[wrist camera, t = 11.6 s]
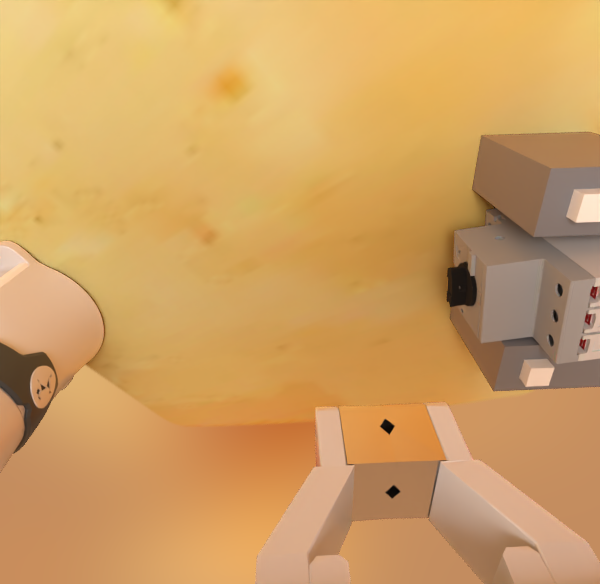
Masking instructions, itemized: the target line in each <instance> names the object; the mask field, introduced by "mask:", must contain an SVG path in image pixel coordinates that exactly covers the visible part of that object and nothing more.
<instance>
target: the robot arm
mask: <svg viewBox="0 0 600 584" xmlns="http://www.w3.org/2000/svg"><path fill="white" fill-rule="evenodd" d="M103 337H104V326H103V321H102V317H101V314H100V312H99V310H98V308H97V306H96V304H95V303H94V301H93V300H92V299H91V297H90V296H89V295H88V294H87V293H86V292H85V291H84V290H83V289H82V288H81V287H80V286H79V285H78V284H77V283H75V282H74V281H73V280H71V279H70V278H68V277H67V276H65V275H63V274H62V273H60V272H58V271H56V270H54V269H51V268H49V267H47V266H45V265H43V264H41V263H40V262H38V261H36V260H35V259H34V258H33V257H32V256H31V255H30V254H29V253H28V252H27V251H25V250H24V249H23V248H22V247H20V246H19V245H17V244H16V243H14V242H11V241H1V242H0V473H1V471H2V470H3V468H4V466H5V465H6V463H7V462H8V460H9V459H10V457H11V456H12V454H13V453H15V452H17V451H18V450H19V449H20V448H21V447H23V446H24V444H25V443H26V442H27V440H28V439H29V437H30V436H31V435H32V433H33V432H34V430H35V429H36V427H37V426H38V424H39V423H40V421H41V420H42V418H43V417H44V415H45V413H46V412H47V409H48V407H49V405H50V403H51V401H52V400H53V398H54V397H55V396H56V395H57V394H58V393H59V391H60V390H63V389H64V388H66V387H67V385H68V384H69V383H70V382H71V380H72V379H73V377H74V375H75V374H76V373H77V372H78V371H79V370H80V368H82V367H83V366H84V365H85V364H86V363H88V362H89V361H90V360H91V359H92V358H93V357H94V356H95V355H96V354H97V352H98V351H99V349H100V347H101V345H102V342H103ZM315 446H316V467H313V469H312V471H311V472H310V474H309V475H308V477H307V479H306V480H305V482H304V483H303V485H302V486H301V488H300V489H299V491H298V493H297V494H296V496H295V497H294V499H293V500H292V502H291V503H290V505H289V507H288V508H287V510H286V511H285V513H284V515H283V516H282V518H281V519H280V521H279V522H278V524H277V526H276V527H275V529H274V530H273V532H272V534H271V535H270V537H269V539H268V540H267V541H266V543H265V544H264V546H263V548H262V549H261V551H260V552H259V554H258V555H257V566H256V583H255V584H351V580H350V572H349V564H348V561H347V560H345V559H344V558H343V557H341V556H340V555H338V554H339V552H340V549H341V547H342V545H343V542H344V540H345V538H346V535H347V533H348V531H349V528H350V526H351V523H352V521H362V520H376V519H389V518H390V519H393V518H429V521H430V522H431V523H432V524H433V526H434V527H435V528H436V529H437V530H438V531H439V532H440V534H441V535H442V536H443V537H444V538H445V539H446V541H447V542H448V543H449V544H450V545H451V546H452V547H453V549H454V550H455V551H456V552H457V553H458V554H459V556H460V557H461V558H462V559H463V560H464V561H465V562H466V564H467V565H468V566H469V567H470V568H471V569H472V571H473V572H474V573H475V574H476V575H477V576H478V577H479V579H480V580H481V581H482V582H483V583H484V584H600V562H599V561H598V559H597V557H596V555H595V554H594V552H593V551H592V549H591V547H590V545H589V544H588V542H587V541H585V540H584V539H583V538H582V537H580V536H579V535H577V534H576V533H575V532H573V531H572V530H571V529H570V528H568V527H567V526H566V525H565V524H563V523H562V522H561V521H559V520H558V519H557V518H555V517H554V516H553V515H551V514H550V513H549V512H548V511H546V510H545V509H544V508H542V507H541V506H540V505H538V504H537V503H536V502H535V501H533V500H532V499H531V498H529V497H528V496H527V495H526V494H524V493H523V492H522V491H520V490H519V489H518V488H516V487H515V486H514V485H512V484H511V483H510V482H508V481H507V480H506V479H505V478H503V477H502V476H501V475H499V474H498V473H497V472H496V471H494V470H493V469H491V468H490V467H489V466H488V465H486V464H485V463H484V462H482V461H481V460H473V458H472V456H471V453H470V451H469V449H468V447H467V445H466V443H465V440H464V438H463V436H462V434H461V432H460V429H459V427H458V425H457V423H456V421H455V419H454V416H453V414H452V412H451V410H450V408H449V405H448V404H447V403H446V402H430V403H423V404H422V403H411V404H391V405H372V406H338V408H337V407H316V409H315Z"/></svg>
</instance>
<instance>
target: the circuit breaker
mask: <svg viewBox="0 0 600 584" xmlns="http://www.w3.org/2000/svg"><path fill="white" fill-rule="evenodd" d="M453 263H454V264H455V267H452V268H448V273H447V277H448V291H447V302H449V303H450V307H454V306H457V308H458V309H459V311H460V312H461V314H462V315H463V317H464V318H465V320H466V321H467V323H468V325H469V326H470V328H471V329H472V331H473V332H474V334H475V335H476V337H477V338H478V339H479V341H480V343H487V342H495V341H502V340H510V339H517V338H525V337H533V338H534V339H535V340H536V341H537V342H538V343H539V345H540V346H541V347H542V348H543V349H544V351H545V352H546V353H547V354H548V355H549V356H550V358H551V359H552V360H553V361H554V362H555V363H556V364H562V363H569V362H577V361H585V360H592V359H600V235H577V236H549V237H533V236H531V235H530V234H529V233H528V232H526V231H525V230H524V229H523V228H521V227H520V226H519V225H517V224H516V223H515V222H514V221H512V220H511V219H510V218H508V217H507V216H506V215H505V214H503V213H502V212H501V211H499V210H498V209H497V208H495V209H488V210H486V220H485V226H481V227H474V228H468V229H461V230H455V231H454V262H453Z"/></svg>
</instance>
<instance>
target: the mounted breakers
mask: <svg viewBox="0 0 600 584" xmlns="http://www.w3.org/2000/svg"><path fill="white" fill-rule="evenodd" d="M472 189H473V190H474V191H475V192H476V193H478V194H479V195H480V196H482V197H483V198H484V199H485V200H487V201H488V202H489V203H491V204H492V205H493V206H494V207H496V208H497V209H498V210H499V211H501V212H502V213H503V214H505V215H506V216H507V217H508V218H510V219H511V220H512V221H514V222H515V223H516V224H517V225H519V226H520V227H521V228H523V229H524V230H525V231H526V232H528V233H529V234H530V235H531V236H533V237H549V236H577V235H600V135H598V134H595V133H592V132H571V133H540V134H509V135H482V136H481V141H480V147H479V153H478V159H477V164H476V170H475V176H474V182H473V187H472ZM450 320H451V321H452V323H453V325H454V326H455V328H456V330H457V331H458V333H459V335H460V336H461V338H462V340H463V341H464V343H465V345H466V346H467V348H468V350H469V351H470V353H471V355H472V356H473V358H474V360H475V361H476V363H477V365H478V366H479V368H480V370H481V371H482V373H483V375H484V376H485V378H486V380H487V381H488V383H489V384H490V386H491V388H492V389H493V391H509V390H533V389H555V388H556V389H557V388H579V387H600V359H592V360H585V361H577V362H569V363H562V364H556V363H555V362H554V361H553V360H552V359H551V358H550V356H549V355H548V354H547V353H546V352H545V351H544V349H543V348H542V347H541V346H540V345H539V343H538V342H537V341H536V340H535V339H534V338H533V337H525V338H517V339H510V340H502V341H495V342H487V343H480V341H479V339H478V338H477V337H476V335H475V334H474V332H473V331H472V329H471V328H470V326H469V325H468V323H467V321H466V320H465V318H464V317H463V315H462V314H461V312H460V311H459V309H458V308H457V306H454V307H452V308H451V314H450Z"/></svg>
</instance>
